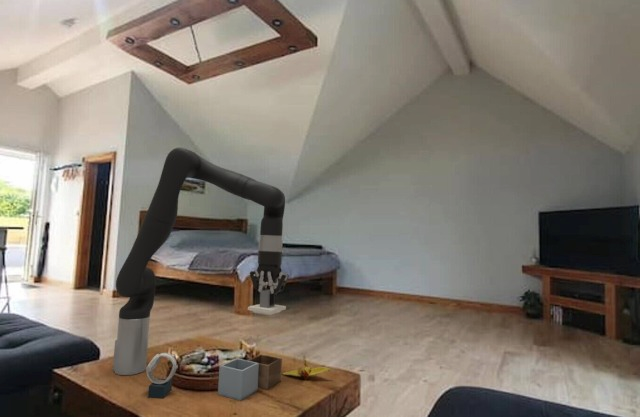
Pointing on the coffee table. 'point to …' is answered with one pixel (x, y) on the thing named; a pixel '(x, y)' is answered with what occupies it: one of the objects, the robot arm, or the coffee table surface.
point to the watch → (160, 386)
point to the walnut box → (268, 370)
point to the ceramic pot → (238, 379)
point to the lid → (266, 305)
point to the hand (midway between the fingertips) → (267, 304)
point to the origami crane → (307, 371)
